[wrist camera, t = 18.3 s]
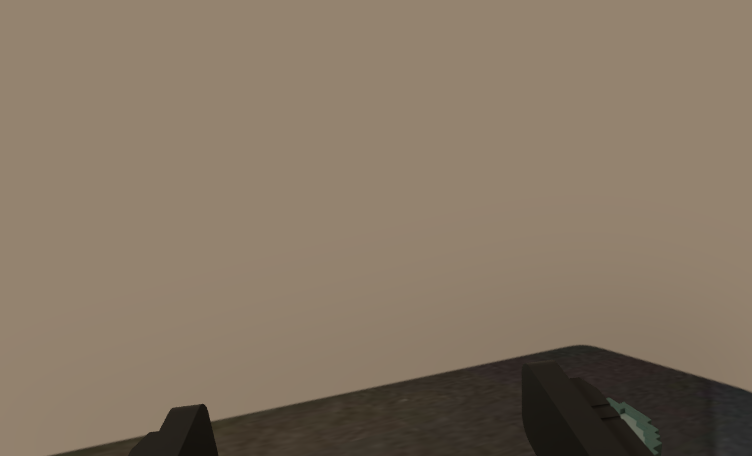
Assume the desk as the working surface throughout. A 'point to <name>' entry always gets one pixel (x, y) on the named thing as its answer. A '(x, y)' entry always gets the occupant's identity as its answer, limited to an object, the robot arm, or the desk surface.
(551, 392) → the robot arm
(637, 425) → the can
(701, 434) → the desk surface
